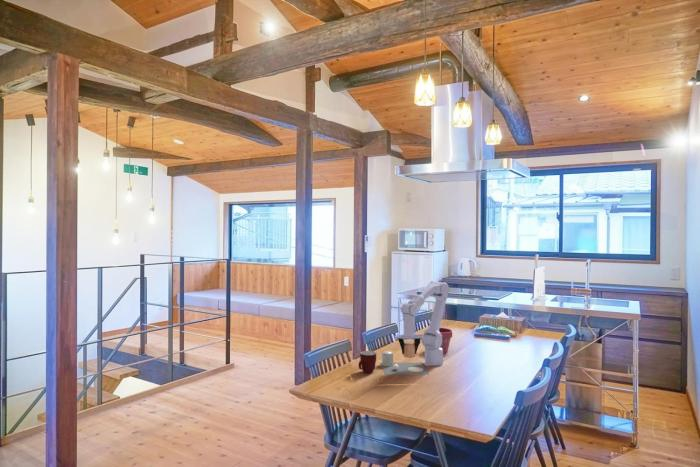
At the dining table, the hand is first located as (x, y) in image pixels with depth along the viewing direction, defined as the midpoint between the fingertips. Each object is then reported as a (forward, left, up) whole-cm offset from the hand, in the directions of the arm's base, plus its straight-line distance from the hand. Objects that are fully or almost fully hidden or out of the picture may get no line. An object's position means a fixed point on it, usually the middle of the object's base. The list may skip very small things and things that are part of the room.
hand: (409, 353), depth 229 cm
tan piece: (0, 0, -1) cm, 1 cm away
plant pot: (-25, -36, -9) cm, 45 cm away
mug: (+22, +3, -9) cm, 24 cm away
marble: (+7, 0, -7) cm, 10 cm away
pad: (-3, 0, -8) cm, 9 cm away
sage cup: (+10, -9, -8) cm, 16 cm away
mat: (+2, -2, -9) cm, 9 cm away
